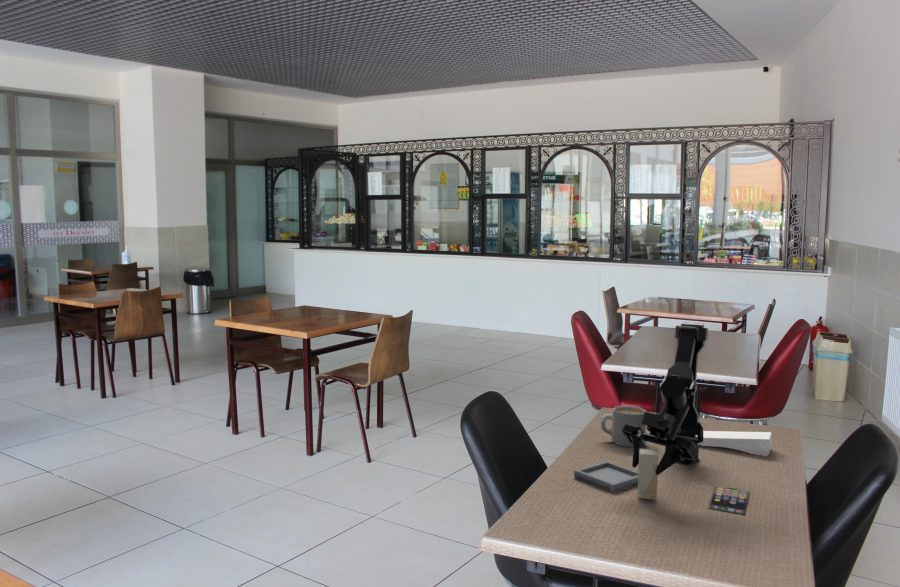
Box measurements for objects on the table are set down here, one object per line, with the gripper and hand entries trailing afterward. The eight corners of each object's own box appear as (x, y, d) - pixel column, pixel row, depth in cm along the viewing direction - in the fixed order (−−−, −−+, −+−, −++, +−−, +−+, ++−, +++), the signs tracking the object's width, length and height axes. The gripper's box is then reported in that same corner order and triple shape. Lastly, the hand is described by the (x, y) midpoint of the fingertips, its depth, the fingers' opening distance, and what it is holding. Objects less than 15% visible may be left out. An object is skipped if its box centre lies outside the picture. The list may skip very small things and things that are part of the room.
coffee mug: (646, 439, 225) (647, 408, 224) (643, 448, 216) (644, 415, 215) (603, 434, 230) (604, 403, 229) (598, 443, 221) (599, 411, 220)
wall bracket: (673, 460, 223) (771, 464, 210) (670, 439, 221) (769, 442, 208) (678, 444, 232) (773, 447, 219) (675, 424, 230) (770, 425, 217)
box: (656, 500, 173) (658, 455, 172) (638, 498, 174) (640, 454, 173) (655, 492, 178) (657, 448, 177) (637, 490, 179) (639, 447, 178)
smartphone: (708, 510, 171) (708, 506, 171) (715, 490, 184) (715, 485, 184) (744, 517, 167) (745, 512, 167) (749, 495, 181) (749, 490, 181)
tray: (574, 477, 190) (574, 470, 190) (606, 468, 198) (606, 461, 198) (612, 492, 180) (613, 485, 180) (645, 482, 188) (645, 474, 187)
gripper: (627, 392, 183) (599, 443, 177) (695, 407, 169) (667, 463, 163) (643, 416, 189) (617, 466, 183) (709, 433, 176) (684, 487, 169)
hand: (644, 470), depth 174 cm, fingers closed on box, 6 cm apart
